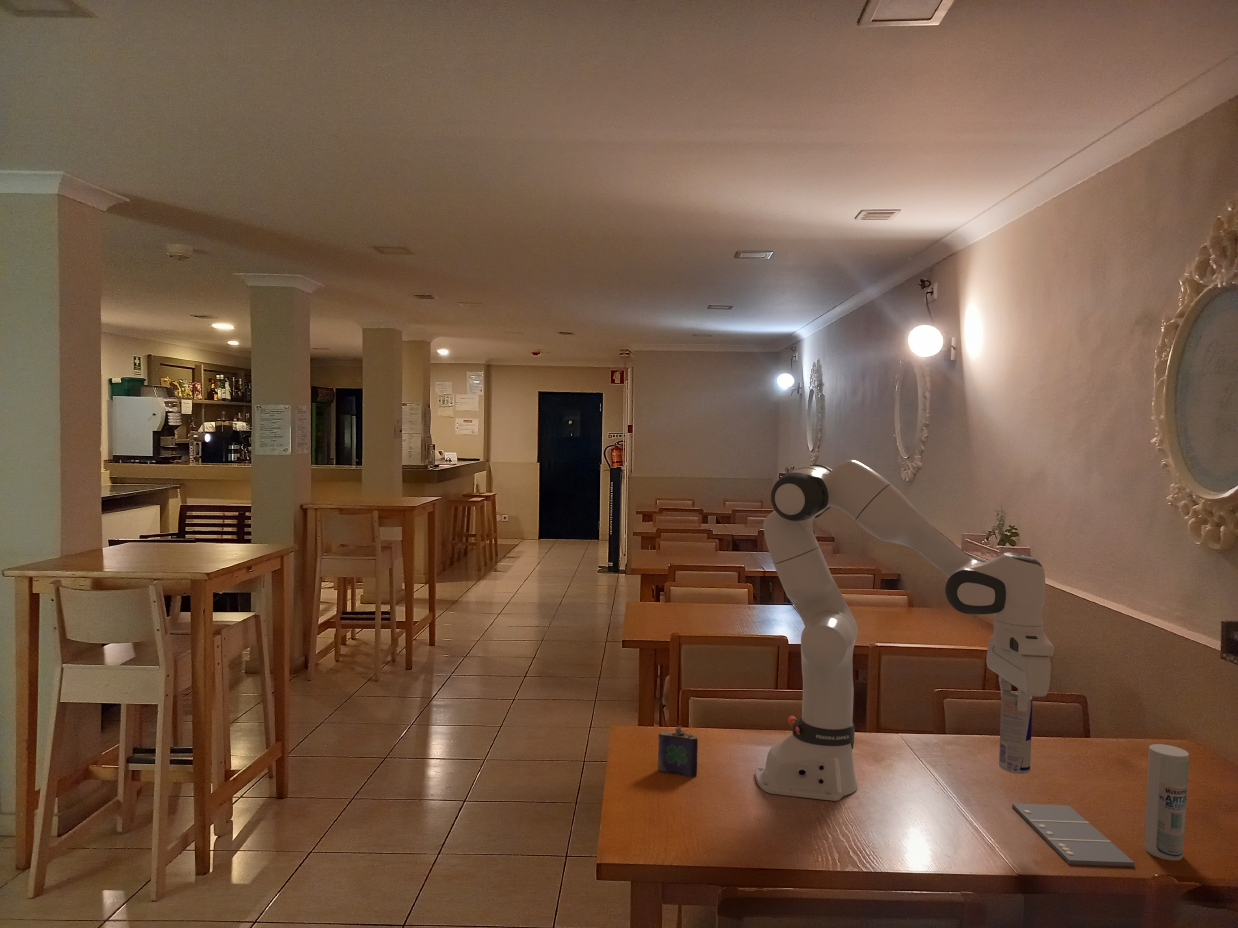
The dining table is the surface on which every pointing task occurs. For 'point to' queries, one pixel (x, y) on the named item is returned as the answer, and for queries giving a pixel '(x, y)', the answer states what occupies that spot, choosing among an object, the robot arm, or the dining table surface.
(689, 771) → the flask
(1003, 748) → the beverage can
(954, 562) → the robot arm
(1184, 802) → the spray can
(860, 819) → the dining table surface
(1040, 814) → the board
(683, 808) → the dining table surface
